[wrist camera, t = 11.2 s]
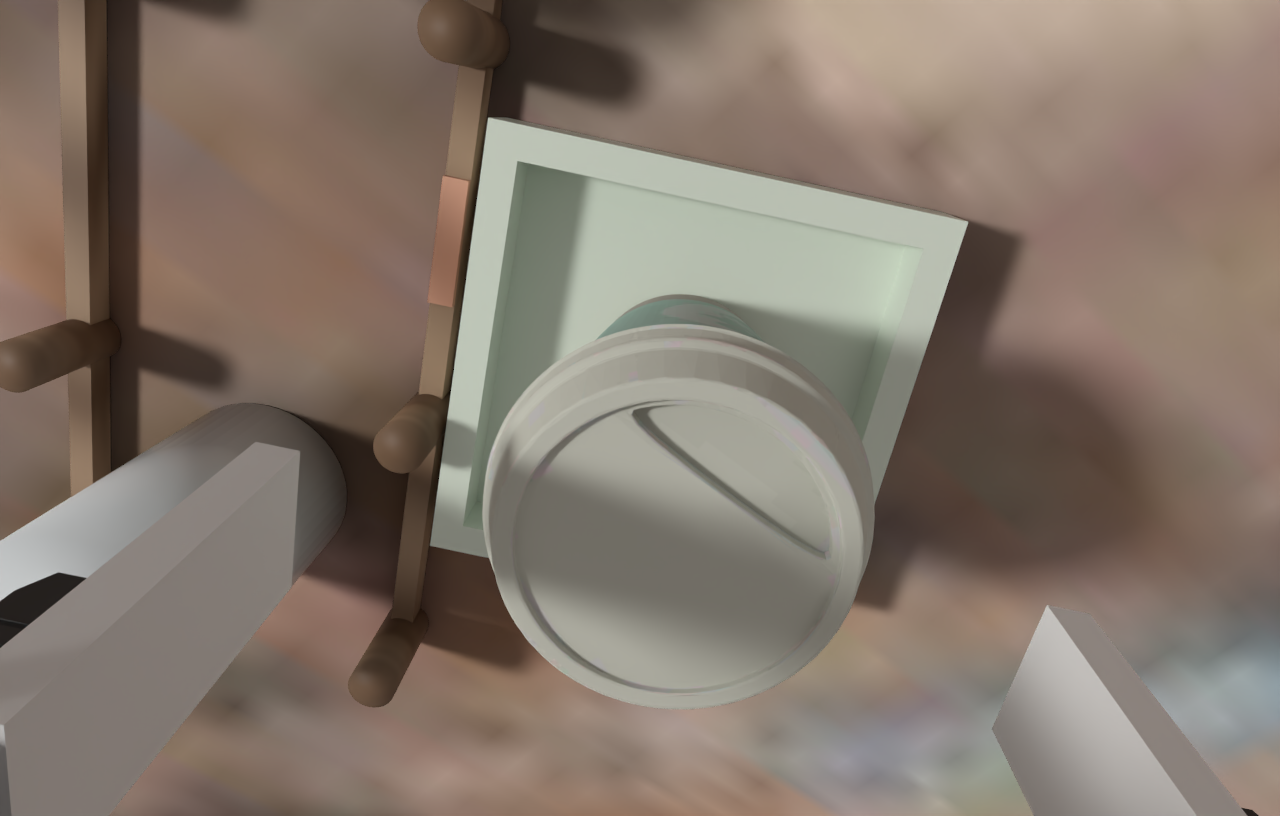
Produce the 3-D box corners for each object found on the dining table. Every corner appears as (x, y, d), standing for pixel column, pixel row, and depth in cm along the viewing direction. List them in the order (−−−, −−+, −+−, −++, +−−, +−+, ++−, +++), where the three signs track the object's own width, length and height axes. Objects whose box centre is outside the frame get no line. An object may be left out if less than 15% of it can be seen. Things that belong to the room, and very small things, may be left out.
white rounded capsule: (176, 386, 30) (-61, 512, 20) (354, 423, 30) (199, 566, 20) (173, 543, 32) (-43, 722, 22) (339, 577, 32) (193, 771, 23)
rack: (56, -462, 22) (-73, -581, 18) (564, -347, 22) (539, -442, 18) (81, 571, 33) (1, 630, 29) (426, 642, 33) (392, 711, 29)
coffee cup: (839, 452, 29) (940, 673, 17) (605, 525, 30) (556, 773, 19) (763, 211, 26) (824, 284, 15) (512, 301, 27) (391, 431, 16)
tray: (506, 117, 26) (487, 117, 24) (943, 212, 26) (968, 221, 24) (449, 512, 31) (429, 545, 28) (821, 591, 31) (832, 630, 29)
